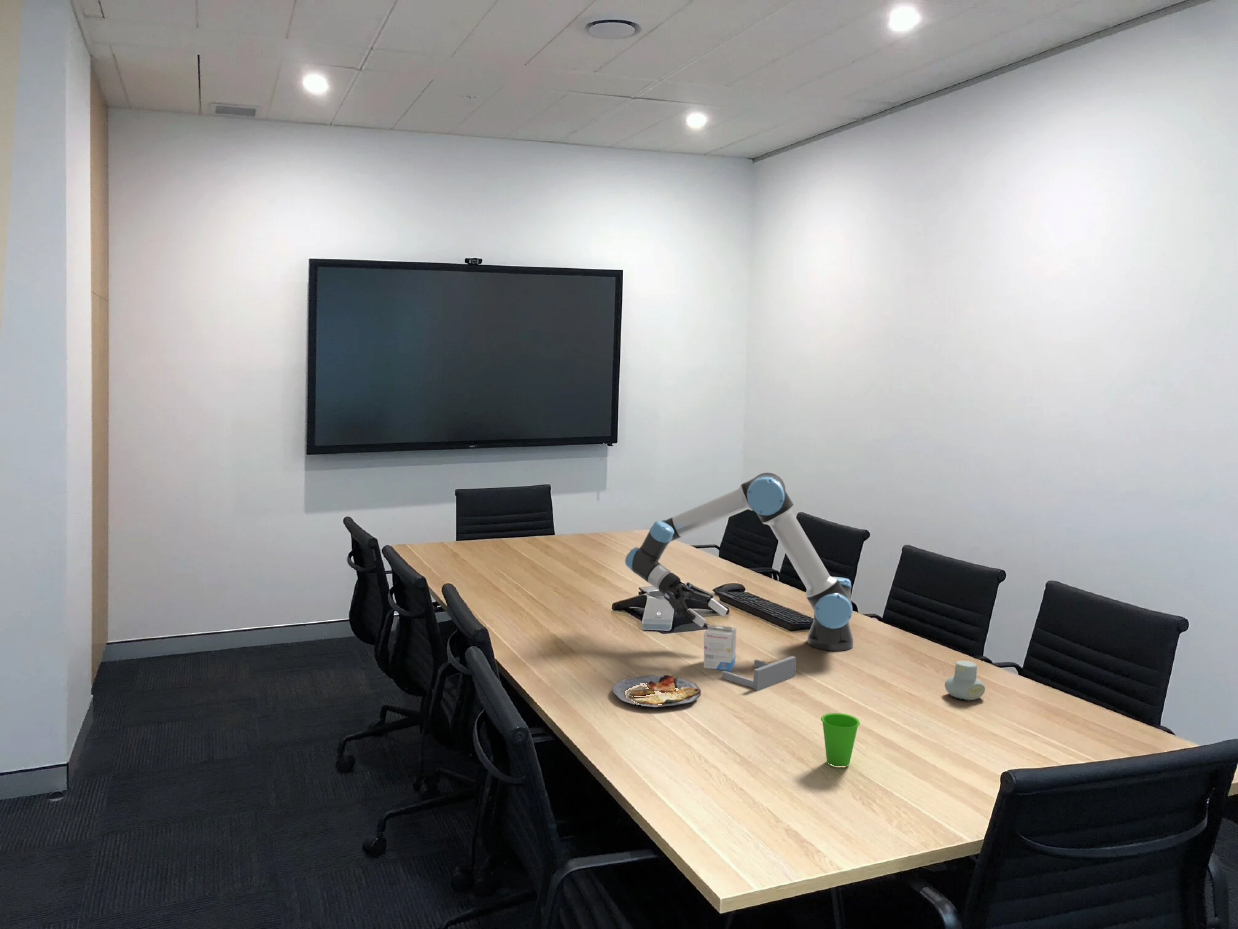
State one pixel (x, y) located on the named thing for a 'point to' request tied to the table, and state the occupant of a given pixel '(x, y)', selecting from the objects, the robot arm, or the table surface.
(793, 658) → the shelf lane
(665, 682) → the food plate
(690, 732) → the table surface
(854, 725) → the cup
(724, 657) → the ink box
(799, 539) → the robot arm
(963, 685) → the air freshener
